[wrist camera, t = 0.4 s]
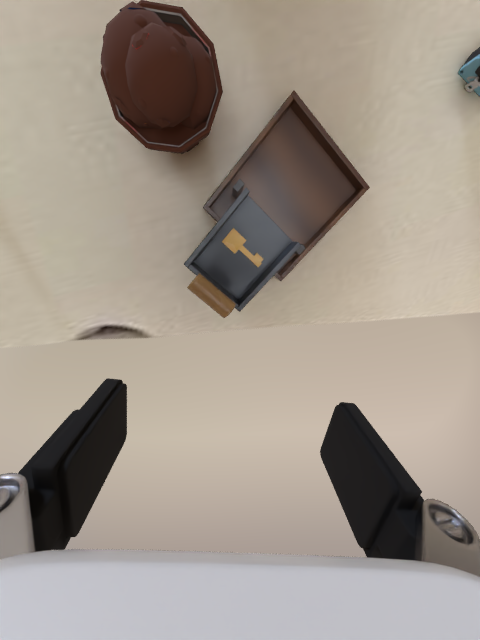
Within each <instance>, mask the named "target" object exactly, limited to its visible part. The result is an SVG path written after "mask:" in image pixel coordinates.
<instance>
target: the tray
mask: <svg viewBox="0 0 480 640" xmlns="http://www.w3.org/2000/svg"><path fill="white" fill-rule="evenodd" d="M245 188H247V189H248V190H249V191H250V192H249V194H248V196H249V197H250V198H251V199H252V200H253V201H254V202H255V203H256V204H257V205H258V206H259V207H260V208H261V209H262V210H263V211H264V212H265V213H266V214H267V215H268V216H269V217H270V218H271V219H272V220H273V221H274V222H275V223H276V224H277V226H278V227H279V228H280V229H281V230H282V231H283V232H284V233H285V234H286V235H287V236H288V237H289V238H290V239H291V240H292V241H293V242H299V243H300V244H301V247H300V248H299V249H298V250H297V251H296V252H295V253H294V254H293V255H292V256H291V257H290V258H289V259H288V261H287V262H286V263H285V264H284V265H283V266H282V267H281V268H280V269H279V270H278V271H277V272H276V273H275V274H274V276H275V277H276V278H277V279H279V280H280V281H281V280H282V279H283V278H284V277H285V276H286V275H287V274H288V273H289V272H290V271H291V270H292V269H293V268H294V267H295V266H296V265H297V264H298V263H299V261H300V260H301V259H302V258H303V257H304V256H305V255H306V254H307V253H308V252H309V251H310V250H311V249H312V248H313V247H314V246H315V245H316V244H317V243H318V241H319V240H320V239H321V238H322V237H323V236H324V235H325V234H326V233H327V232H328V231H329V230H330V229H331V228H332V227H333V226H334V225H335V224H336V223H337V221H338V220H339V219H340V218H341V217H342V216H343V215H344V214H345V213H346V212H347V211H348V210H349V209H350V208H351V207H352V206H353V205H354V204H355V202H356V201H357V200H358V199H359V198H360V197H361V196H362V195H363V194H364V193H365V192H366V191H367V190H368V189H369V186H368V185H367V183H366V182H365V181H364V179H363V178H362V177H361V176H360V174H359V173H358V172H357V170H356V169H355V168H354V167H353V165H352V164H351V163H350V162H349V160H348V159H347V158H346V156H345V155H344V154H343V153H342V151H341V150H340V149H339V147H338V146H337V145H336V144H335V142H334V141H333V140H332V138H331V137H330V136H329V135H328V133H327V132H326V131H325V129H324V128H323V127H322V126H321V124H320V123H319V122H318V120H317V119H316V118H315V117H314V115H313V114H312V113H311V111H310V110H309V109H308V108H307V106H306V105H305V104H304V102H303V101H302V100H301V99H300V97H299V96H298V95H297V93H296V92H295V91H293V92H292V93H291V95H290V96H289V97H288V98H287V100H286V101H285V102H284V104H283V105H282V106H281V107H280V109H279V110H278V111H277V113H276V114H275V115H274V116H273V118H272V119H271V120H270V122H269V123H268V124H267V125H266V127H265V128H264V129H263V131H262V132H261V133H260V134H259V136H258V137H257V138H256V140H255V141H254V142H253V143H252V145H251V146H250V147H249V149H248V150H247V151H246V152H245V154H244V155H243V156H242V158H241V159H240V160H239V161H238V163H237V164H236V165H235V167H234V168H233V169H232V170H231V172H230V173H229V174H228V176H227V177H226V178H225V179H224V181H223V182H222V183H221V185H220V186H219V187H218V188H217V190H216V191H215V192H214V194H213V195H212V196H211V198H210V199H209V200H208V201H207V203H206V204H205V205H204V207H203V208H204V209H205V210H206V211H207V212H208V213H209V214H210V215H211V216H212V217H213V218H214V219H215V220H216V221H217V222H218V221H219V220H220V219H221V217H222V216H223V215H224V214H225V212H226V211H227V210H228V209H229V207H230V206H231V205H232V204H233V203H234V201H235V200H236V199H237V198H238V196H239V195H240V194H241V193H242V191H243V190H244V189H245Z"/></svg>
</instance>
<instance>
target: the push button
mask: <svg viewBox="0 0 480 640" xmlns="http://www.w3.org/2000/svg"><path fill="white" fill-rule="evenodd" d="M458 73H459V75H460V76H461V77H462V78H463V79H464V80H465V81H466V82H467V83H468V84H467V85H465V89H466V90H467V91H468V92H471V91H472V90H474V91H475V92H476V93H477V94H478V96H480V47H479V48H478V49H477V50H475V51H474V52H473V53H472V54H471V55H470V57H469V58H468V59H467V61H466V62H465V64H464V65H463V66H462V68H461V69H460V71H459V72H458ZM469 86H470V87H471V88H469Z"/></svg>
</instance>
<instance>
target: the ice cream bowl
mask: <svg viewBox="0 0 480 640" xmlns="http://www.w3.org/2000/svg"><path fill="white" fill-rule="evenodd" d="M120 11H121V12H120V13H119V14H117V15H116V16H115V17H114V18H113V19H112V20H111V21H110V22H109V23H108V24H107V26H106V31H105V34H104V36H103V47H102V53H101V65H102V69H101V76H102V79H103V82H104V85H105V88H106V91H107V94H108V97H109V100H110V103H111V107H112V110H113V113H114V116H115V119H116V120H117V121H118V122H119V123H120V124H121V125H123V126H124V127H125V128H126V129H127V130H128V131H129V132H130V133H131V134H132V135H133V136H134V137H135V138H136V139H137V140H138V141H140V142H141V143H142V144H143V145H144V146H145V147H146V148H148V149H151V150H158V151H166V152H174V153H182V154H183V153H184V152H186V151H187V152H188V151H189V150H191V149H192V148H194V147H195V146H196V145H198V144H199V142H200V141H201V140H203V139H204V138H206V137H207V136H208V135H209V133H210V130H211V127H212V123H213V120H214V117H215V114H216V111H217V108H218V105H219V102H220V99H221V96H222V93H223V90H222V85H221V80H220V75H219V70H218V64H217V59H216V54H215V49H214V44H213V43H212V42H211V40H210V39H209V38H208V37H207V36H206V35H205V33H204V32H203V31H202V30H201V29H200V27H199V26H198V25H197V24H196V23H195V22H194V20H193V19H192V18H191V17H190V16H189V14H188V13H187V12H186V11H185V10H184V9H183V7H178V6H172V5H166V4H161V3H155V2H149V1H144V0H141V1H140V2H139V3H137V4H136V3H134V2H133V1H132V2H131V3H129V4H128V5H126V6H125V7H123V8H122V9H120Z"/></svg>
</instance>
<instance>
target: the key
mask: <svg viewBox="0 0 480 640" xmlns="http://www.w3.org/2000/svg"><path fill="white" fill-rule="evenodd" d="M245 242H246V239H245V238H244V237H243V236H241V235H240V234H239V233H238V232H237V231H236V230H235V229H234V228H233V229H232V230H231V231H230V232H229V234H228V235H227V236H226V237H225V238H224V240H223V241H222V243H224V244H225V245H226V246H227V247H228V248H229V249H230V250H231V251H232V252H233V253H234V254H235V253H236V252H237V251H238V250H240V251H241V252H242V253H243V254H244V255H245V256H246V257H247V258H249V259H250V260H251V261H252V262H253V263H254V264H255V265H256V266H257V267H259V266H260V265H261V264H262V263H261V262H262V261H263V258H262V257H261V256H260V255H259V254H258V253H256V254H255V255H252V254H251V253H250V252H249V251H248V250H247V249H246V248H245V247H244V246H243V244H244V243H245Z"/></svg>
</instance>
